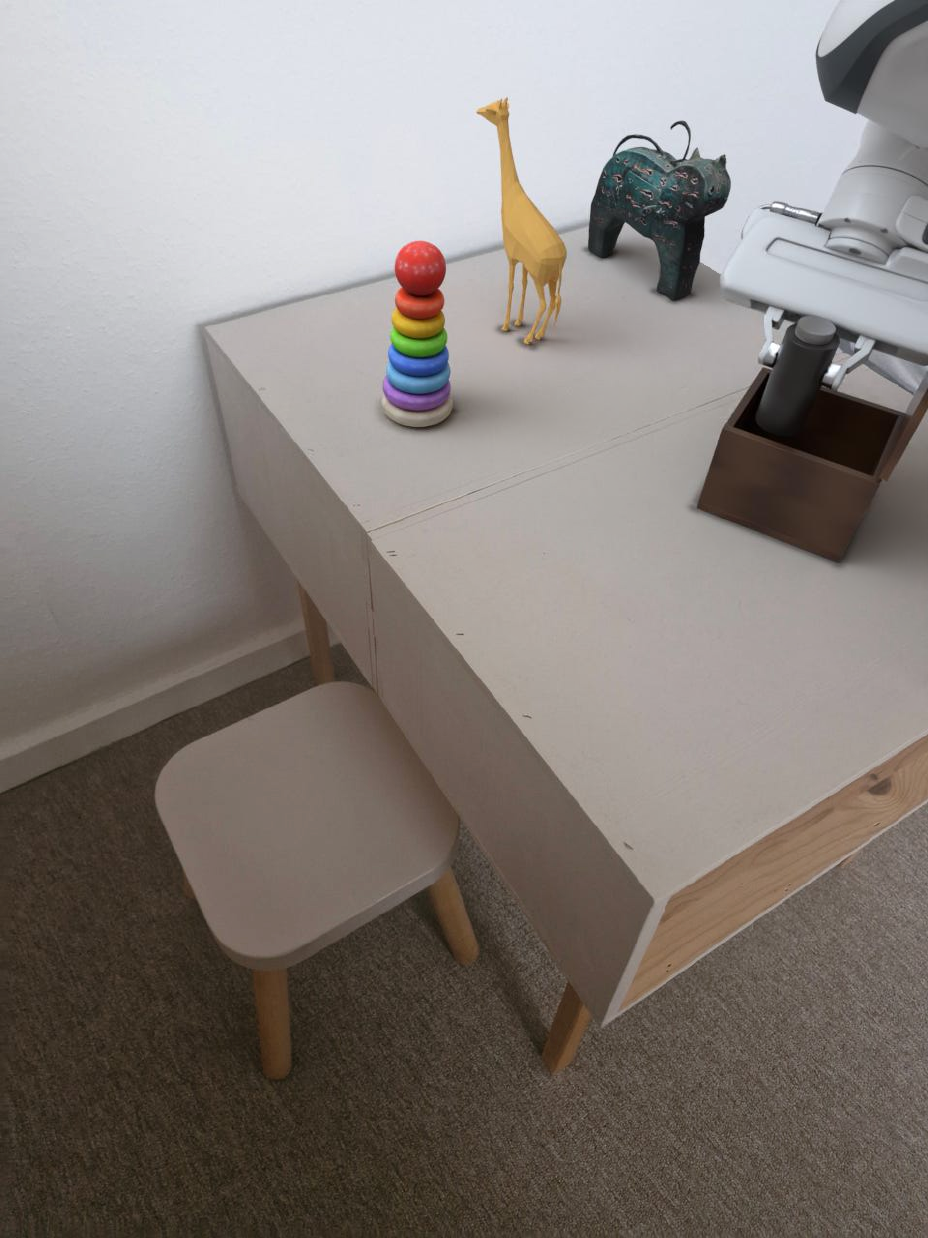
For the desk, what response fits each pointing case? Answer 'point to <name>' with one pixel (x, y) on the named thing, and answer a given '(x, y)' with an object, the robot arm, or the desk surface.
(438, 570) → the desk surface
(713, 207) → the ceramic cat
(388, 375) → the stacking toy
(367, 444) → the desk surface
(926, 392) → the chest door
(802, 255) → the robot arm
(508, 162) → the giraffe
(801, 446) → the chest
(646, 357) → the desk surface
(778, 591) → the desk surface
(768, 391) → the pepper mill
